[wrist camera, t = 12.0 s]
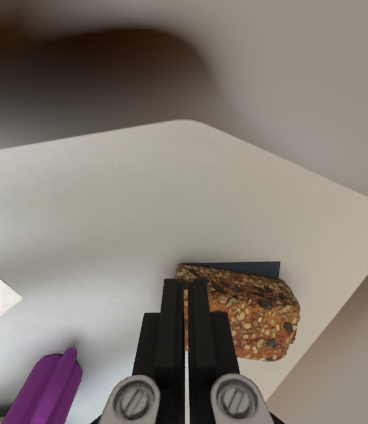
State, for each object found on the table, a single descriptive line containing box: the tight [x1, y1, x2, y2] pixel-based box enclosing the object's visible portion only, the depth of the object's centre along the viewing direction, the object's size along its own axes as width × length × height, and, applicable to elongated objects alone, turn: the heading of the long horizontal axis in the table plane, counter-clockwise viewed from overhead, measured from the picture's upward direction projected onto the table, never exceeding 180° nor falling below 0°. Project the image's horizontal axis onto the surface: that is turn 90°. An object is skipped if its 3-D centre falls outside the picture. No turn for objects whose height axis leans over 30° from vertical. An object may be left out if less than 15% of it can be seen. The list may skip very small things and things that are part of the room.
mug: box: [1, 348, 82, 424], centre depth 45 cm, size 9×16×15 cm, turn 150°
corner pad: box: [184, 262, 280, 279], centre depth 46 cm, size 12×16×1 cm
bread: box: [175, 264, 300, 362], centre depth 41 cm, size 19×11×10 cm, turn 78°
